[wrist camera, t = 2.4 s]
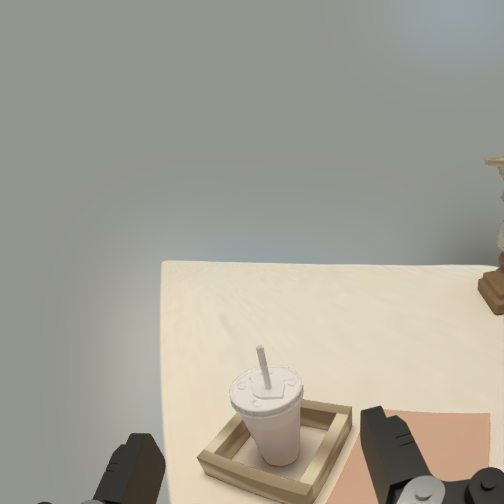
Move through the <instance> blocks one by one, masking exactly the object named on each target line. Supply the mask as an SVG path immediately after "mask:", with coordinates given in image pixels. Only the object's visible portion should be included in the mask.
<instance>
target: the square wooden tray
mask: <svg viewBox="0 0 504 504" xmlns="http://www.w3.org/2000/svg"><path fill="white" fill-rule="evenodd" d="M300 425H305V426H310V427H315V428H320V429H326V430H328V432H327V434H326V435H325V437H324V439H323V441H322V443H321V445H320V447H319V448H318V450H317V452H316V454H315V455H314V457H313V459H312V461H311V462H310V464H309V466H308V468H307V469H306V471H305V473H304V474H303V476H302V478H301V479H300V481H295V480H291V479H288V478H284V477H281V476H277V475H274V474H271V473H268V472H264V471H261V470H258V469H255V468H252V467H249V466H246V465H244V464H241V463H238V462H235V461H232V460H230V459H231V458H232V457H233V456H234V454H235V453H236V452H237V451H238V450H239V448H240V447H241V446H242V445H243V443H244V442H245V441H246V440H247V439H248V437H249V436H250V435H251V434H250V432H249V430H248V428H247V426H246V424H245V422H244V421H243V419H242V417H241V415H240V414H239V413H238V412H237V413H236V414H235V416H234V417H233V418H232V419H231V420H230V421H229V422H228V423H227V425H226V426H225V427H224V428H223V429H222V430H221V431H220V432H219V434H218V435H217V436H216V437H215V438H214V439H213V440H212V441H211V442H210V443H209V444H208V445H207V447H206V448H205V449H204V450H203V451H202V452H201V453H200V454H199V455H198V456H197V459H198V461H199V462H200V464H201V466H202V468H203V470H204V472H205V474H207V475H210V476H212V477H214V478H217V479H219V480H221V481H224V482H226V483H229V484H231V485H234V486H236V487H239V488H241V489H244V490H247V491H249V492H252V493H255V494H258V495H260V496H263V497H266V498H269V499H272V500H275V501H278V502H282V503H285V504H313V502H314V500H315V499H316V497H317V495H318V493H319V492H320V490H321V488H322V486H323V484H324V482H325V480H326V479H327V477H328V475H329V473H330V471H331V469H332V467H333V465H334V463H335V461H336V459H337V457H338V455H339V453H340V451H341V449H342V447H343V444H344V442H345V440H346V438H347V436H348V434H349V431H350V429H351V427H352V407H349V406H342V405H335V404H328V403H322V402H316V401H310V400H304V399H301V400H300Z"/></svg>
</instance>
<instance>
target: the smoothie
mask: <svg viewBox="0 0 504 504" xmlns="http://www.w3.org/2000/svg"><path fill="white" fill-rule="evenodd" d="M256 350H257V354H258V358H259V363H260V367H257V368H254V369H251V370H249V371H247V372H245V373H244V374H242V375H240V376H239V377H238V378H237V379H236V380H235V381H234V382H233V384H232V385H231V387H230V391H229V395H230V399H231V404H232V407H233V408H234V409H235V411H236V412H238V413H239V414H240V415H241V417H242V419H243V421H244V422H245V424H246V426H247V428H248V430H249V432H250V434H251V436H252V437H253V439H254V441H255V443H256V445H257V447H258V448H259V450H260V452H261V454H262V456H263V457H264V459H265V461H266V462H267V463H268V464H270V465H273V466H285V465H288V464H290V463H292V462H294V461H295V460H296V459H297V457H298V455H299V446H300V400H301V399H302V397H303V393H304V387H303V384H302V379H301V377H300V375H299V374H298V373H297V372H296V371H295V370H293V369H291V368H289V367H285V366H279V365H269V366H267V362H266V357H265V353H264V348H263V345H258V346H256Z"/></svg>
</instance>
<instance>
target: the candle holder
mask: <svg viewBox="0 0 504 504" xmlns="http://www.w3.org/2000/svg"><path fill="white" fill-rule="evenodd" d="M485 164H486V165H489V166H495V167H498V170H499V173H500V175H501V176H502V178H503V179H504V157H490V158H486V159H485ZM501 199H502V200H503V201H504V192H503V194H502V196H501ZM496 242H497V245H498V247H499V248H500V249H501V250H502V251H503V252H502V253H501V254H500V256H499V264H500V266H501V267H500V268H498V269H497V270H496V271H491V272H486V273H484V274H483V278H482V279H479V280H478V290H479V292H480V293H481V295H482V296H483V298H484V299H485V301H486V302H487V304H488V305H489V307H490V309H491V310H492V311H493V313H494V314H495V315H501V314H504V221H503V223H502V224H501V226H500V228H499V230H498V232H497V237H496Z"/></svg>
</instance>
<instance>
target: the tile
mask: <svg viewBox="0 0 504 504" xmlns="http://www.w3.org/2000/svg"><path fill="white" fill-rule="evenodd" d="M383 410H384V412H385V415H386V417H391V416H394V415H397V416H398V417H400V418H401V419H402V420H404V421H405V422H406V423H407V425H408V427H409V429H410V431H411V435H413V437H414V439H415V443H417V445H418V448H419V450H420V452H421V454H422V456H423V458H424V460H425V462H426V464H427V466H428V468H429V471H430V472H431V474H432V475H433V476H434V477H436V478H438V479H439V480H442V481H459V480H466V479H471V478H472V476H473V475H474V474H475V473H476V472H477V471H479V470H481V469H483V468H487V467H489V453H490V413H483V414H457V413H427V412H410V411H397V410H386V409H383ZM326 504H378V500H377V497H376V493H375V490H374V487H373V483H372V480H371V477H370V474H369V470H368V467H367V464H366V461H365V457H364V454H363V451H362V447H361V441H360V433H359V435H358V437H357V440H356V442H355V444H354V447H353V449H352V451H351V453H350V456H349V458H348V460H347V462H346V464H345V466H344V469H343V471H342V473H341V475H340V477H339V479H338V481H337V483H336V485H335V487H334V489H333V491H332V493H331V495H330V497H329V499H328V500H327V502H326Z"/></svg>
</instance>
